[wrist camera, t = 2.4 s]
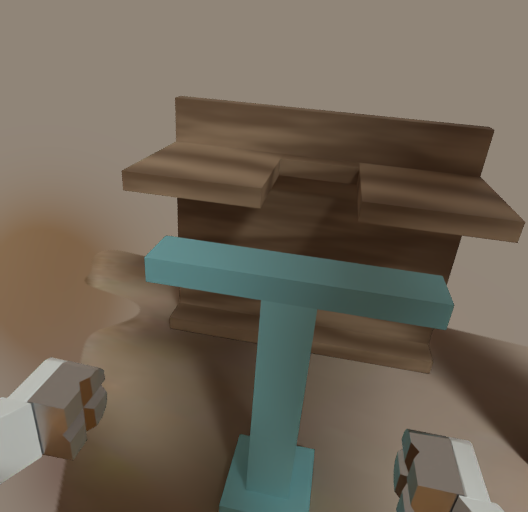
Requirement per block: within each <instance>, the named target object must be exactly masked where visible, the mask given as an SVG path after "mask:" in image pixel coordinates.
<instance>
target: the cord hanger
mask: <svg viewBox="0 0 528 512" xmlns="http://www.w3.org/2000/svg"><path fill="white" fill-rule="evenodd" d="M144 259H145V275H146V282H152V283H159V284H165V285H171V286H177V287H183V288H189V289H196V290H202V291H208V292H214V293H220V294H226V295H232V296H239V297H245V298H251V299H257V300H261V308H260V321H259V333H258V345H257V358H256V370H255V382H254V395H253V407H252V419H251V431H250V436H247V435H242V434H240V435H239V439H238V442H237V446H236V449H235V453H234V456H233V459H232V463H231V466H230V470H229V473H228V477H227V480H226V484H225V487H224V491H223V494H222V497H221V501H220V504H219V512H309V506H310V495H311V484H312V473H313V462H314V451H315V449H310V448H305V447H300V446H296V445H297V438H298V432H299V425H300V419H301V412H302V406H303V399H304V393H305V386H306V380H307V373H308V367H309V360H310V354H311V347H312V341H313V334H314V328H315V321H316V315H317V309H319V310H325V311H331V312H337V313H343V314H349V315H356V316H362V317H368V318H374V319H380V320H386V321H393V322H399V323H405V324H411V325H417V326H423V327H430V328H436V329H442V330H446V329H447V326H448V323H449V320H450V317H451V314H452V311H453V308H454V303H453V301H452V298H451V296H450V293H449V291H448V288H447V286H446V283H445V281H444V278H443V276H440V275H433V274H426V273H419V272H412V271H405V270H399V269H392V268H385V267H378V266H371V265H364V264H358V263H351V262H344V261H337V260H330V259H323V258H317V257H310V256H303V255H296V254H289V253H282V252H276V251H269V250H262V249H255V248H248V247H241V246H235V245H228V244H221V243H214V242H207V241H201V240H194V239H187V238H180V237H173V236H165V237H164V238H163V239H162V240H161V241H160V242H159V243H158V244H157V245H156V246H155V247H154V248H153V249H152V250H151V251H150V252H149V253H148V254H147V255H146V256H145V257H144Z"/></svg>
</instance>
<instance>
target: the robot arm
mask: <svg viewBox="0 0 528 512" xmlns="http://www.w3.org/2000/svg"><path fill="white" fill-rule="evenodd" d="M104 380H105V375H104V370H103V369H101V368H98V367H93V366H89V365H84V364H80V363H76V362H71V361H65V360H61V359H56V358H52V357H51V358H49V359H46V360H45V361H44V362H43V363H42V364H41V365H40V366H39V367H38V368H37V369H36V370H35V371H34V372H33V373H32V374H31V375H30V376H29V377H28V378H27V379H26V380H25V381H24V382H23V383H22V384H21V385H20V386H19V387H18V388H17V389H16V390H15V391H14V392H13V393H12V394H11V395H10V396H9V397H8V398H4V397H1V398H0V484H2V483H3V482H5V481H6V480H8V479H9V478H11V477H12V476H14V475H15V474H17V473H18V472H20V471H21V470H23V469H24V468H26V467H27V466H29V465H30V464H32V463H33V462H35V461H36V460H38V459H39V458H41V457H42V455H48V456H53V457H58V458H63V459H68V460H74V458H75V457H76V455H77V454H78V452H79V451H80V450H81V448H82V447H83V445H84V444H85V442H86V441H87V431H89V430H91V429H92V428H94V427H96V426H97V425H98V423H99V421H100V420H101V418H102V416H103V414H104V411H105V408H106V404H107V392H106V390H105V389H104V388H103V387H102V385H101V384H102V383H103V382H104ZM402 446H403V449H401V450H400V451H398V452H397V456H396V460H395V465H394V491H395V493H396V494H397V495H398V497H399V498H400V499H399V502H398V505H397V508H396V511H397V512H505V511H504V510H503V509H502V508H501V507H500V506H499V505H498V504H496V503H492V502H491V501H490V498H489V495H488V492H487V489H486V486H485V483H484V480H483V476H482V473H481V470H480V467H479V464H478V461H477V458H476V455H475V451H474V448H473V445H472V444H471V442H470V441H468V440H463V439H458V438H452V437H446V436H442V435H437V434H431V433H426V432H421V431H415V430H410V429H406V430H405V432H404V434H403V437H402Z"/></svg>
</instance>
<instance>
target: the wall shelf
mask: <svg viewBox="0 0 528 512" xmlns="http://www.w3.org/2000/svg"><path fill="white" fill-rule="evenodd" d="M175 106H176V107H175V109H176V142H174V143H172V144H171V145H169V146H167V147H165V148H163V149H161V150H159V151H158V152H156V153H154V154H152V155H150V156H148V157H147V158H145V159H143V160H141V161H139V162H137V163H135V164H133V165H131V166H130V167H128V168H126V169H124V170H122V181H123V190H125V191H132V192H140V193H148V194H155V195H162V196H171V197H177V203H178V237H180V238H187V239H194V240H201V241H207V242H214V243H221V244H228V245H235V246H241V247H248V248H255V249H262V250H269V251H276V252H282V253H289V254H296V255H303V256H310V257H317V258H323V259H330V260H337V261H344V262H351V263H358V264H364V265H371V266H378V267H385V268H392V269H399V270H405V271H412V272H419V273H426V274H433V275H440V276H443V278H444V281H445V283H446V285H447V282H448V279H449V275H450V273H451V269H452V266H453V263H454V260H455V256H456V253H457V250H458V247H459V243H460V240H461V237H462V236H470V237H477V238H484V239H492V240H499V241H507V242H515V243H518V240H519V237H520V235H521V232H522V229H523V227H524V224H525V221H523V219H522V218H521V217H520V216H519V215H518V214H517V213H516V212H515V211H514V210H513V209H512V208H511V207H510V206H509V205H508V204H507V203H506V202H505V201H504V200H503V199H502V198H501V197H500V196H499V195H498V194H497V193H496V192H495V191H494V190H493V189H492V188H491V187H490V186H489V185H488V184H487V183H486V182H485V181H484V180H483V179H482V178H481V177H480V176H481V172H482V169H483V166H484V163H485V159H486V156H487V153H488V150H489V146H490V143H491V140H492V137H493V133H494V130H493V129H492V128H490V127H484V126H474V125H463V124H454V123H444V122H434V121H424V120H414V119H404V118H395V117H385V116H375V115H364V114H354V113H345V112H335V111H325V110H315V109H305V108H295V107H285V106H275V105H264V104H256V103H245V102H235V101H226V100H216V99H206V98H196V97H185V96H179V97H176V98H175ZM179 297H180V303H179V304H178V306H177V307H176V309H175V310H174V312H173V313H172V315H171V316H170V328H172V329H178V330H184V331H189V332H195V333H201V334H206V335H212V336H218V337H223V338H229V339H235V340H240V341H246V342H252V343H257V344H258V333H259V321H260V308H261V300H257V299H251V298H245V297H239V296H232V295H226V294H220V293H214V292H208V291H202V290H196V289H189V288H183V287H179ZM432 331H433V328H430V327H423V326H417V325H411V324H405V323H399V322H393V321H386V320H380V319H374V318H368V317H362V316H356V315H349V314H343V313H337V312H331V311H325V310H319V309H317V315H316V321H315V328H314V334H313V341H312V347H311V353H314V354H320V355H326V356H331V357H337V358H343V359H348V360H354V361H360V362H365V363H371V364H377V365H382V366H388V367H394V368H399V369H405V370H411V371H416V372H422V373H428V374H429V373H430V370H431V367H432V364H433V360H432V357H431V353H430V349H429V345H428V344H429V340H430V337H431V334H432Z"/></svg>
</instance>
